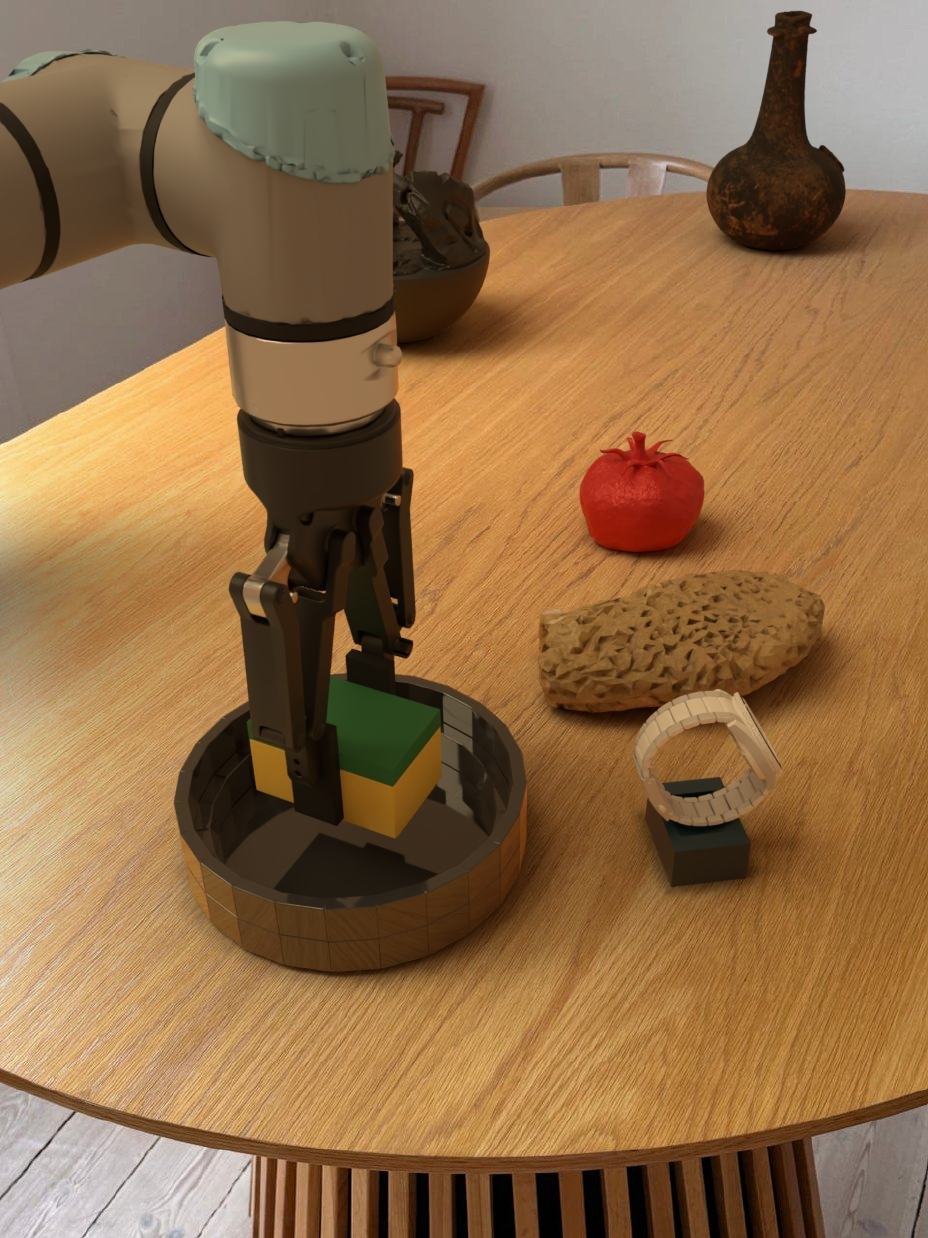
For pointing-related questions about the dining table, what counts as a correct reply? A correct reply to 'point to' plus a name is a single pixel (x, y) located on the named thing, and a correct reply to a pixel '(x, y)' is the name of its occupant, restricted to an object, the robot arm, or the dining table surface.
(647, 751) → the watch
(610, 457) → the red tomato
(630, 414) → the dining table surface
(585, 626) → the sponge
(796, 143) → the glass bottle
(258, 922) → the bowl
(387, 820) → the dish sponge
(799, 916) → the dining table surface
